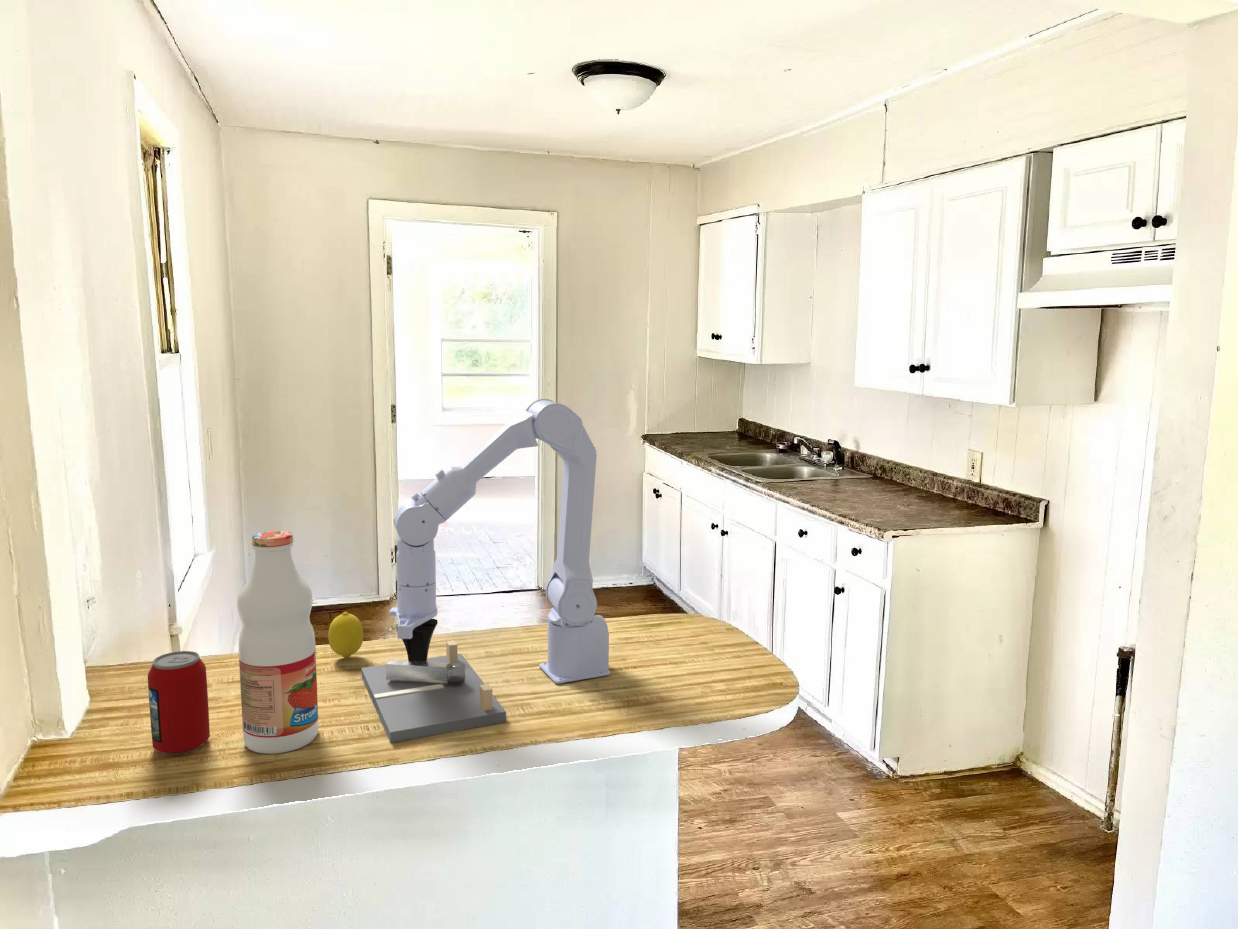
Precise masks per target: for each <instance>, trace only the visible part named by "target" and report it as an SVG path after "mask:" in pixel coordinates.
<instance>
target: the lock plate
mask: <svg viewBox="0 0 1238 929" xmlns="http://www.w3.org/2000/svg"><path fill="white" fill-rule="evenodd" d="M445 644H446V645H445V647H446V653H445V654H446V655H443V656H442V655H441V656H434V657H427V662H445V663H451V662H462V663H464V664H465V682H464V683H462V684H459V685H450V684H448V683H435V682H416V681H398V680H386V663H385V664H380V665H379V664H378V665H372V666H365V667H361V668H360V669H361V679H362V681H363V684H364V685H365V686H364V687H365V688H366V690H367V693H368V694H369V697H370V699H372V700H371V702H372V703H373V704H372V705H373V706H374V708H376V709H375V711H376V714H377V715H379V716H378V718H379V720H380V723H381V725H382V726H383V729H384V731H386V732H385V733H386V736H387V739H388V741H389V740H390V741H389V743H390V744H392V743H398V741H399V742H402V741H408V740H409V741H410V740H414V739H419V738H420V739H421V738H426V737H431V736H436V735H442V734H447V733H451V732H452V733H453V732H458V731H464V730H468V729H474V728H479V727H485V726H490V725H496V724H501V723H506V722H507V711H506V710H505V708H504V707H503V706H502V704H501V703H500V702H499V700H498V699H497V698H496V697H495V695H494V694H493V688H492V687H491V685H490V683H485V682H484V681H483V680H482V678H481V677H480V676H479V675H478V673H477V672H476V671H475V669H473V667H472V666H471V664H470V663H469V661H468V660H466V658H465V657H464V655H463V654H462V653H458V643H457V642H456V641H455V640H447V641H446V642H445Z"/></svg>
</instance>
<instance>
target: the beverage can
mask: <svg viewBox="0 0 1238 929" xmlns="http://www.w3.org/2000/svg"><path fill="white" fill-rule="evenodd" d="M147 688H148V690H147V691H148V703H149V704H148V705H149V718H150V729H151V731H150V733H151V741H152V743H151V744H152V747H153V749H154V750H155V751H157V752H158V753H159V752H160V753H163V754H166V755H170V756H171V755H172V756H177V755H183V754H188V753H191V752H193V751H195V750H197V749H199V748H200V747H201V746H202V745H204V744H205V743H206V742H208V740H209V739H210V738H211V737H210V736H211V734H210V733H211V732H210V731H211V730H210V715H209V714H210V713H209V694H208V692H209V691H208V680H207V666H206V664H205V663H204V662H203V659H201V658H200V654H199V653H198V652H197V651H196V652H195V651H191V650H182V651H181V650H180V651H179V650H178V651H172V652H167V653H164V654H162V655H159V656H157V657H155V658H154V659H153V661H152V666H151V667H150V669H149V670H148V673H147Z"/></svg>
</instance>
